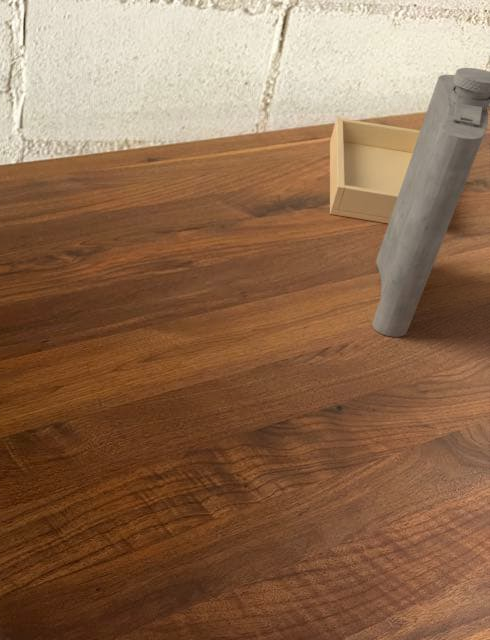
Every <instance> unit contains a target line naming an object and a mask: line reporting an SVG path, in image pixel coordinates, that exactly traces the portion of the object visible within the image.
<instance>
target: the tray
mask: <svg viewBox="0 0 490 640" xmlns="http://www.w3.org/2000/svg"><path fill="white" fill-rule="evenodd" d="M419 133H420V130H419V129H413V128H405V127H399V126H394V125H387V124H382V123H381V124H380V123H373V122H368V121H362V120H355V119H348V118H342V117H336V118H335V122H334V126H333V130H332V132H331V137H330V141H329V214H330V215H333V216H340V217H345V218H346V217H347V218H350V219H351V218H352V219H358V220H364V221H369V222H374V223H375V222H376V223H380V224H381V223H382V224H387V225H388V224H389V221H390V218H391V215H392V212H393V210H394V207H395V204H396V201H397V198H398V195H399V192H400V189H401V186H402V183H403V180H404V177H405V174H406V171H407V168H408V165H409V163H410V160H411V157H412V154H413V151H414V148H415V145H416V142H417V139H418V136H419Z"/></svg>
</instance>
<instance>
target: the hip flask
mask: <svg viewBox="0 0 490 640" xmlns="http://www.w3.org/2000/svg"><path fill="white" fill-rule="evenodd" d="M489 106H490V71H489V70H486V69H481V68H476V67H461V68H457V69H456V71H455V74H442V75H438V78H437V79H436V83H435V86H434V89H433V92H432V94H431V98H430V101H429V103H428V107H427V110H426V112H425V116H424V119H423V122H422V125H421V128H420V130H419V131H420V133H419V136H418V139H417V142H416V145H415V148H414V151H413V154H412V157H411V160H410V163H409V165H408V168H407V171H406V174H405V177H404V180H403V183H402V186H401V189H400V192H399V195H398V198H397V201H396V204H395V207H394V210H393V212H392V215H391V218H390V221H389V224H387V228H386V230H385V233H384V236H383V240H382V242H381V245H380V248H379V251H378V253H377V257H376V260H375V264H376V267H377V270H378V273H379V277H380V299H379V302H378V305H377V308H376V311H375V314H374V317H373V319H372V322H371V326H372V328H373V329H374V330H375V332H377V333H379V334H381V335H383V336H387V337H391V338H393V337H394V338H401V337H403V336H405V335H406V334H407V333H408V330H409V329H410V326H411V323H412V320H413V318H414V316H415V313H416V311H417V308H418V306H419V303H420V301H421V298H422V295H423V293H424V289H425V287H426V284H427V283H428V279H429V277H430V274H431V272H432V269H433V267H434V264H435V262H436V259H437V257H438V254H439V251H440V249H441V246H442V244H443V241H444V239H445V236H446V233H447V231H448V228H449V226H450V223H451V221H452V219H453V216H454V213H455V211H456V208H457V207H458V203H459V200H460V199H461V195H462V193H463V191H464V187H465V185H466V183H467V180H468V178H469V176H470V175H469V174H470V172H471V170H472V167H473V165H474V162H475V159H476V157H477V154H478V151H479V149H480V146H481V144H482V141H483V139H484V137H485V134H486V132H487V128H488V124H489V112H488V107H489Z"/></svg>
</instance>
